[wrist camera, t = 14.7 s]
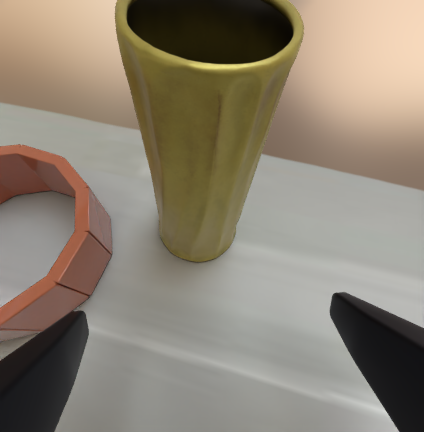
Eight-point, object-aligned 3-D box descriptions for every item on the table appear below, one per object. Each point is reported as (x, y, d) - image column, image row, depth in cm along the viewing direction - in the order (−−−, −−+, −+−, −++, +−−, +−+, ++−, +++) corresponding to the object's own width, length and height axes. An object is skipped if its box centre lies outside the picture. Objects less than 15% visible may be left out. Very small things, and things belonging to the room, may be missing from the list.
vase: (158, 195, 20) (104, -43, 7) (229, 191, 21) (289, -31, 8) (160, 266, 17) (79, 83, 5) (241, 258, 18) (358, 83, 6)
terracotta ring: (54, 367, 14) (0, 379, 10) (-114, 306, 15) (-225, 296, 11) (137, 207, 20) (123, 174, 15) (9, 168, 20) (-35, 126, 16)
